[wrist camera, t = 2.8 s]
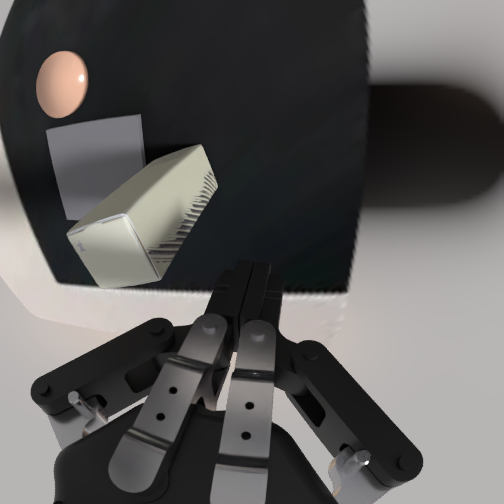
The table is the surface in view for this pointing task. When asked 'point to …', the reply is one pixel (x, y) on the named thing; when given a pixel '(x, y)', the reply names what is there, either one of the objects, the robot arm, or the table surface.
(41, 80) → the glossy peach dome
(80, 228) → the box
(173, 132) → the table surface
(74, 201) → the mat
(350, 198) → the table surface
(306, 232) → the table surface
